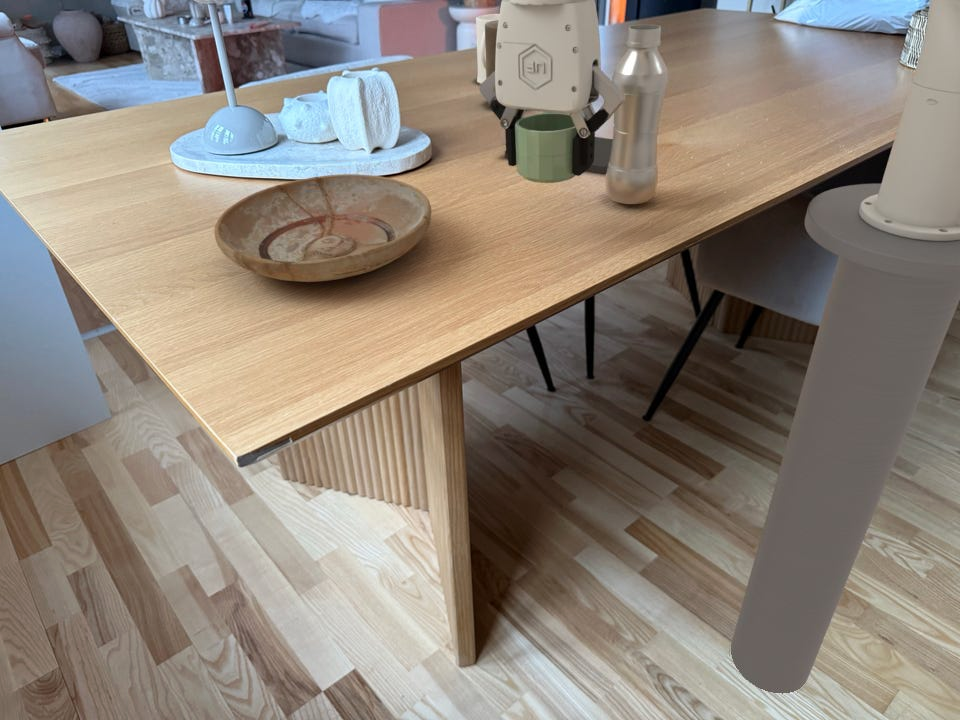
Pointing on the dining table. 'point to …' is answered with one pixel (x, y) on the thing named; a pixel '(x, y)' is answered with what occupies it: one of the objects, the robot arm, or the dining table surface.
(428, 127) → the dining table surface
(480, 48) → the mug
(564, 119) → the green cup
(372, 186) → the ceramic bowl
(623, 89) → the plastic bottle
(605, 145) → the scale
